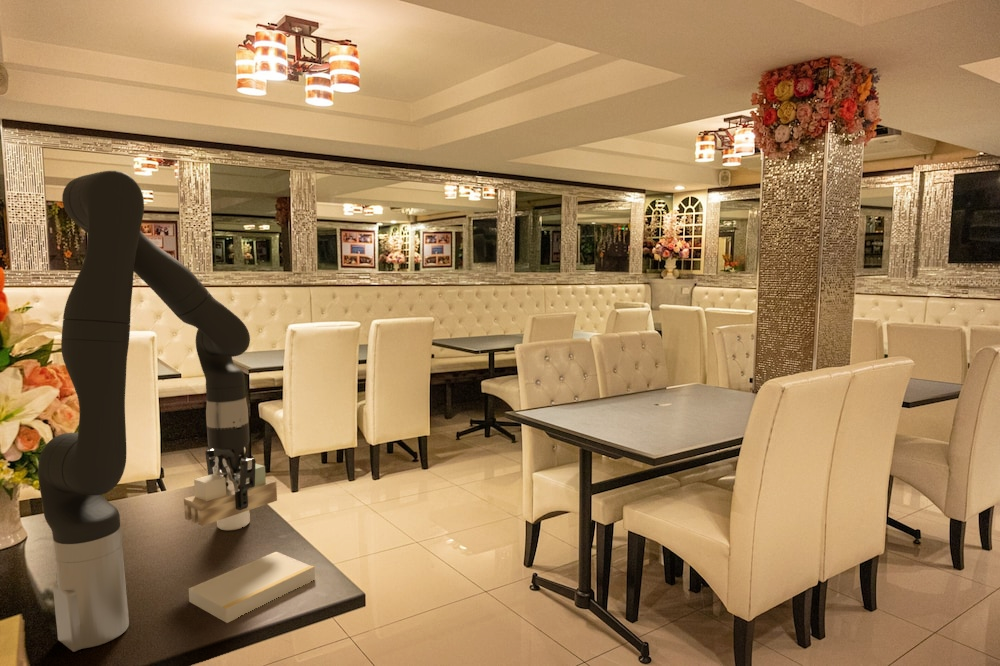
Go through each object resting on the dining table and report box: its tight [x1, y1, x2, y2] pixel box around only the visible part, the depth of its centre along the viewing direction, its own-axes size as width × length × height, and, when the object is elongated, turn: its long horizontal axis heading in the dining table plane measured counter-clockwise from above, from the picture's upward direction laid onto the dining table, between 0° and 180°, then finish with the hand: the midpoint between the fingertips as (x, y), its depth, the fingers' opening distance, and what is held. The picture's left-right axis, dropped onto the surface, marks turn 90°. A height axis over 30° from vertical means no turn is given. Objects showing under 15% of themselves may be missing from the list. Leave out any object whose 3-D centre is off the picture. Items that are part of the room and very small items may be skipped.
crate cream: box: [193, 474, 226, 501], centre depth 125 cm, size 4×4×4 cm
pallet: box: [183, 478, 278, 527], centre depth 129 cm, size 16×6×4 cm, turn 143°
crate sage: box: [236, 462, 267, 486], centre depth 132 cm, size 4×4×4 cm
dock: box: [188, 551, 316, 624], centre depth 121 cm, size 18×12×3 cm, turn 144°
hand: (232, 505), depth 129 cm, fingers closed on pallet, 6 cm apart
